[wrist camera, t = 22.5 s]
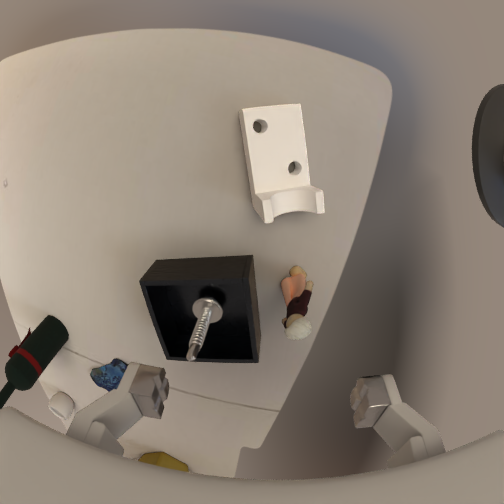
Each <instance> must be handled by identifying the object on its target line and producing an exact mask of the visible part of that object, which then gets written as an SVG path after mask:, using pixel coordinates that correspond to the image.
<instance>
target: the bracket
mask: <svg viewBox="0 0 504 504" xmlns="http://www.w3.org/2000/svg"><path fill="white" fill-rule="evenodd" d="M239 119H240V125H241V131H242V138H243V144H244V151H245V157H246V164H247V170H248V177H249V184H250V190H251V197H252V204H253V208H254V209H255V211H256V212H257V213H258V215H259V216H260V217H261V218H262V220H263V221H264V222H265V224H266V223H271V222H274V221H273V219H274V218H275V217H276V216H278V215H280V214H283V213H287V212H292V211H310V212H314V213H316V214H320V213H325V210H324V196H323V191H322V190H320V189H318V188H316V187H314V186H311V185H310V177H309V167H308V158H307V149H306V141H305V133H304V125H303V118H302V111H301V104H286V105H274V106H264V107H255V108H246V109H242V110H240V111H239ZM255 121H257V122H259V123H260V124H261V127H262V128H261V131H260V132H259V133H257V132H255V131H254V129H253V123H254V122H255ZM291 162H294V163H295V169H294V171H293V172H291V173H289V171H288V166H289V164H290V163H291Z"/></svg>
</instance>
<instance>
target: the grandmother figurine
mask: <svg viewBox="0 0 504 504" xmlns="http://www.w3.org/2000/svg"><path fill="white" fill-rule="evenodd" d="M290 275H291V276H292V277H287V278H285V279H283V280H282V282H281V287H282V292H283V295H284V299H285V303H286V306H287V318H284V319H283V320H282V323H283V325H284V327H285V328H286V329H285V335H286V336H287V337H288V338H289V339H292V340H300V339H304V338H306V337H307V336H308V335H309V334H310V333H311V331H312V330H311V324H310V322H309V320H308V319H307V318H306V317H304V316H305V315H306V313H307V311H308V307H307V305H308V303H309V300H310V297H311V294H312V287H313V282H312V281H307V282H306V280H305V278H306V277H307V274H306V273H305V272H304V270H303V269H302V268H301V267H299V266H294V267H293V268H292V269H291V270H290Z"/></svg>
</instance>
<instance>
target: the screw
mask: <svg viewBox="0 0 504 504" xmlns="http://www.w3.org/2000/svg"><path fill="white" fill-rule="evenodd" d="M193 313H194V315H195V316H196V317H197V318H198V320H197V323H196V325H195V328H194V331H193V333H192V336H191V339H190V341H189V350H188V353H187V356H186V359H187V360H188V361H193V360H195V359H196V357H197V354H198V352H199V351H200V349H201V348H202V345H203V342H204V339H205V336H206V333H207V329H208V326H209V324H210V323H214V322H217V321H219V320H220V319H221V317H222V314H223V309H222V306H221V305H220V304H219V302H217V301H216V300H215V299H214V298H213V297H210V298H208V297H202V298H199V299H197V300H196V301H195V302H194V304H193Z"/></svg>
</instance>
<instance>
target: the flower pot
mask: <svg viewBox="0 0 504 504" xmlns="http://www.w3.org/2000/svg"><path fill="white" fill-rule="evenodd" d="M138 461H140V462H144V463H148V464H152V465H156V466H160V467H165V468H169V469H174V470H179V471H185V472H189V471H188V466H187V465H186V464H184V463H182V462H180V461H178V460H177V459H175V458H173V457H171V456H169V455H167V454H166V453H164V452H157V453H148V454H144V455H143V456H142V457H141V458H140V459H139V460H138Z"/></svg>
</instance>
